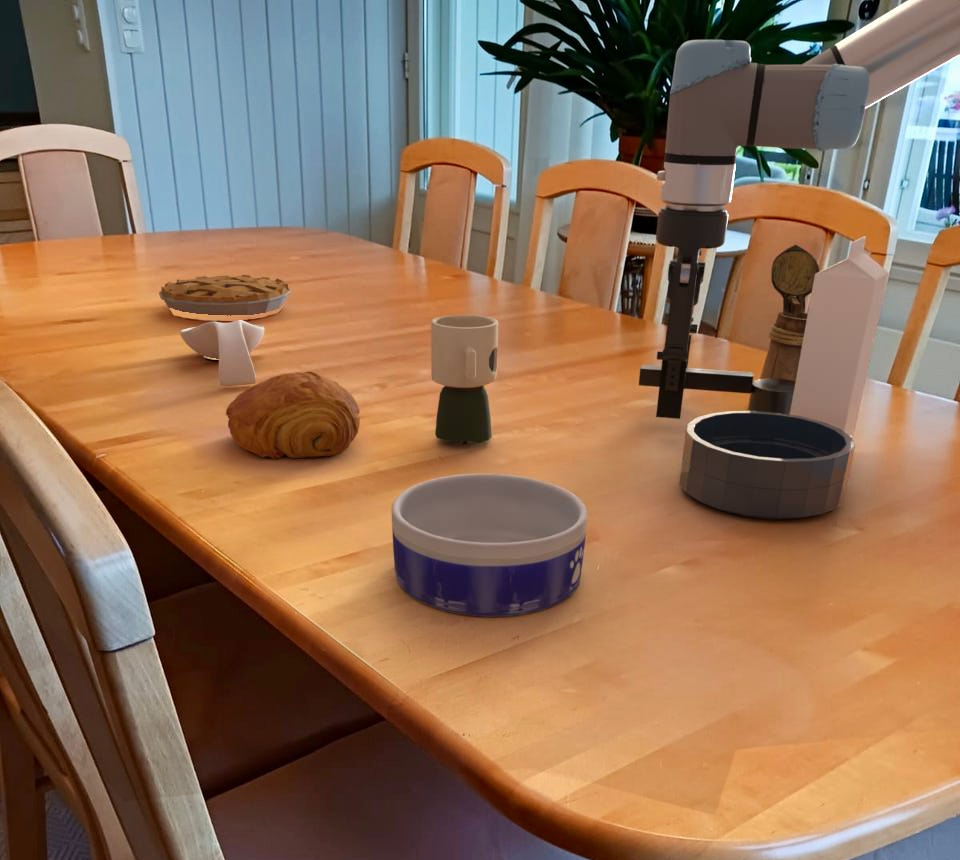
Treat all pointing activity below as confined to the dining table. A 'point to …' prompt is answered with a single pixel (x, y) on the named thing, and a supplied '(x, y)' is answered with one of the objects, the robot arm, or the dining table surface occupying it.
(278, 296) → the pie
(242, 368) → the spoon rest
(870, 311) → the milk
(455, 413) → the character mug
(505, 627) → the dining table surface
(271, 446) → the croissant
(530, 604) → the dog bowl
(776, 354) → the brown wooden tall piece
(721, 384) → the ladle
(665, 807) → the dining table surface
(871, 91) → the robot arm
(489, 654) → the dining table surface
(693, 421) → the serving bowl
